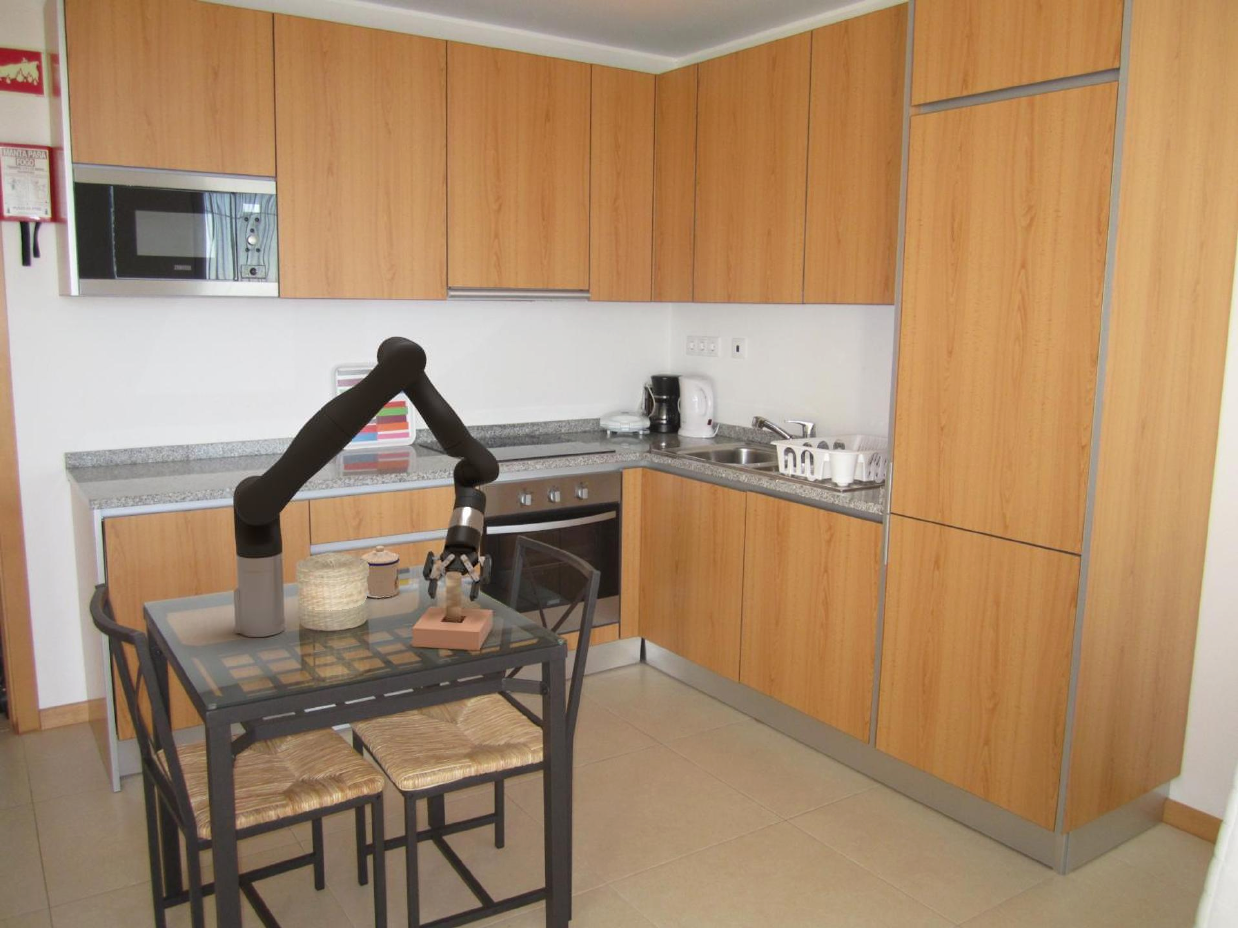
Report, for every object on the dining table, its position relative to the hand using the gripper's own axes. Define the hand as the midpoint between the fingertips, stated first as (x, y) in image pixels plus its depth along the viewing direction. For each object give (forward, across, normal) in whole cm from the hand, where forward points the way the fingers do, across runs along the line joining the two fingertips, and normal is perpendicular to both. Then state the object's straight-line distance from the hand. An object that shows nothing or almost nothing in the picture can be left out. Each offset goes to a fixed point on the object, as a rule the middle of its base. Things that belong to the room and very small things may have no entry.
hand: (451, 598), depth 215 cm
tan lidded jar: (-14, -25, +27) cm, 39 cm away
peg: (+5, 0, +7) cm, 9 cm away
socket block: (+5, 0, +7) cm, 9 cm away
